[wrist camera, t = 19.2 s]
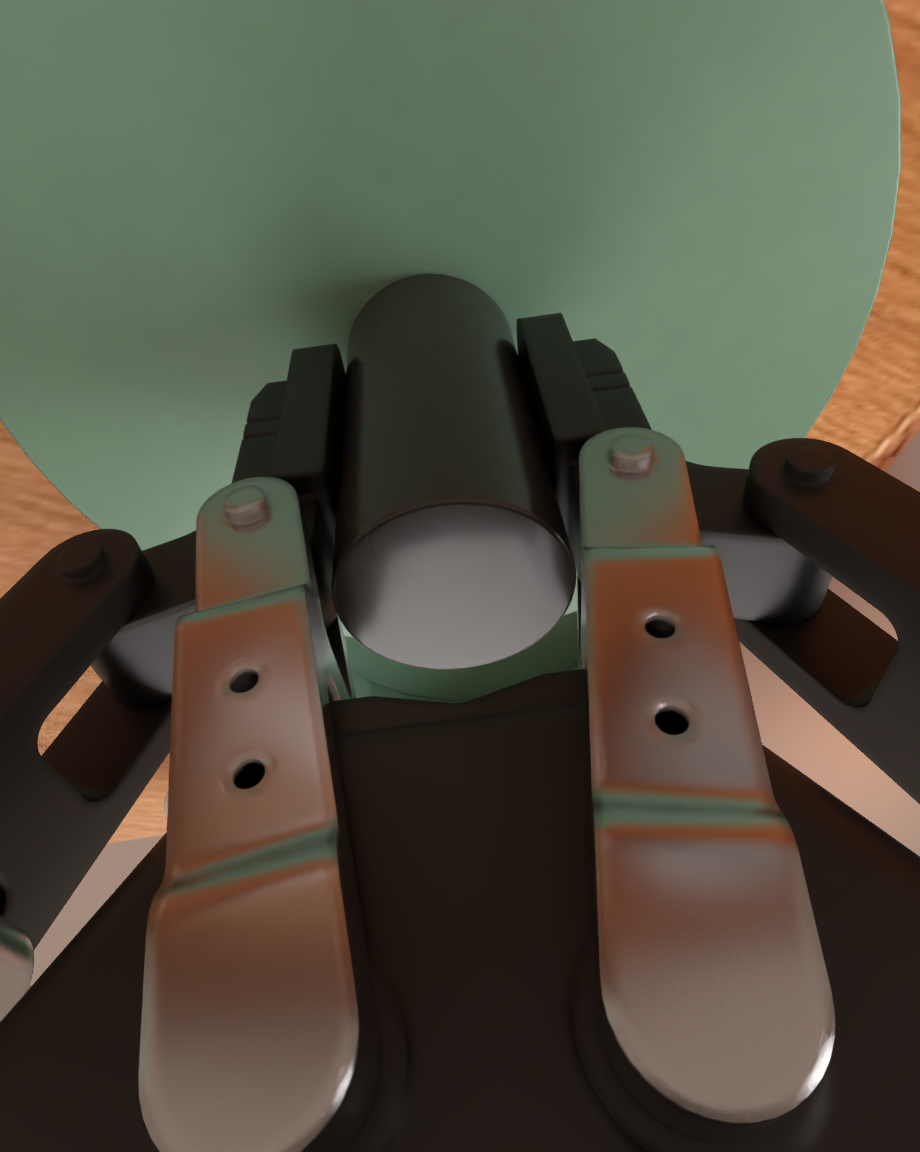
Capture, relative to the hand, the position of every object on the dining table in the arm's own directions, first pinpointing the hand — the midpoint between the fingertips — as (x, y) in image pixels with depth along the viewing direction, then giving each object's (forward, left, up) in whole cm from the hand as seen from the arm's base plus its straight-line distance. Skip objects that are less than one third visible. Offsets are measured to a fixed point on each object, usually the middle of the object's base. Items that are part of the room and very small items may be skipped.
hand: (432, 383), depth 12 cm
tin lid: (0, 0, -2) cm, 2 cm away
